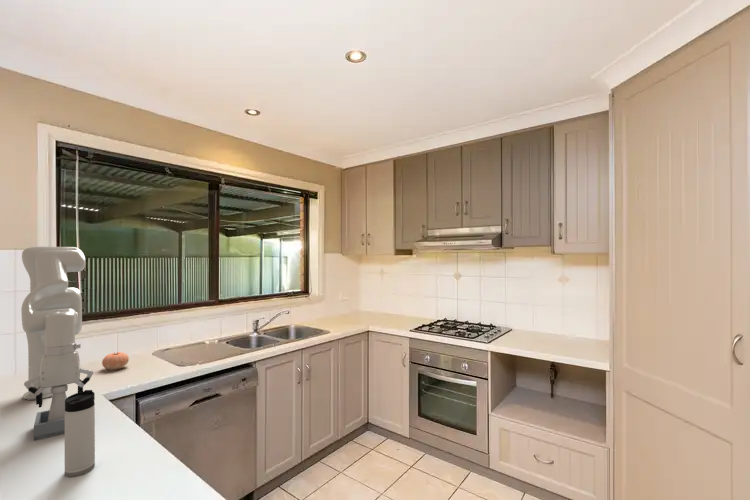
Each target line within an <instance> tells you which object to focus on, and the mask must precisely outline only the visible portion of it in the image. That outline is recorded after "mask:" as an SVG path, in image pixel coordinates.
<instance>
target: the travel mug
mask: <svg viewBox="0 0 750 500" xmlns="http://www.w3.org/2000/svg"><path fill="white" fill-rule="evenodd" d="M95 399H96V397H95V392H94V391H93V389H85V390H83V392H79V393H78V392H76V393H74V394H71V395H69V396H68V397H67V398H66V399H65V433H64V476H65V477H70V478H73V477H74V478H75V477H79V476H82V475H85V474H87V473H89V472H90V471H92V470H93V469H94V468H95V466H96V460H95V459H96V455H95V452H96V447H95V446H96V440H95V439H96V435H95V434H96V433H95V432H96V429H95V428H96V426H95V425H96V414H95V413H96V411H95V410H96V404H95V403H96V402H95Z"/></svg>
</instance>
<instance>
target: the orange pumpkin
mask: <svg viewBox="0 0 750 500" xmlns="http://www.w3.org/2000/svg"><path fill="white" fill-rule="evenodd" d="M129 360H130V358H129V355H128V354H127V353H125V352H121V351H120V352H119V351H117V352H112V353H108V354H107V355H106V356H104V357H103V358H102V360H101V364H102V367H103V368H104V369H106V370H108V371H115V370H120V369H122V368H124V367H126V365H128V363H129Z"/></svg>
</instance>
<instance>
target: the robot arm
mask: <svg viewBox="0 0 750 500" xmlns="http://www.w3.org/2000/svg"><path fill="white" fill-rule="evenodd" d="M21 252H22V253H21V261H22V264H23V266H24V268H25V270H26V272H27V274H28V276H29V282H30V283H29V284H30V285H29V286H30V287H29V289H30V291H29V293H28V294H27V295H26V296H25V298H24V300H23V301H22V305H21V308H20V310H21V325H22V330H23V331H24V332H25V334H26V335H25V336H26V340H27V349H28V350H27V351H28V353H27V354H28V356H27V357H28V360H27V361H28V362H27V363H28V366H27V367H28V370H27V371H28V372H27V373H28V375H27V376H28V377H27V378H28V379H27V380H26V381H24V384H23V386H24V387H25V388H26V389H27V391H26V392H25V393H24V394H23V395H22V399H24V400H26V399H27V400H29V401H31V400H32V401H33V400H35V405H36V406H37V405H38V408H42V407H43V399H46V398H52V397H53V394H51V387H55V386H61V385H66V384H67V385H71V384H76V385H77V393H79V392H84V386H85V385H86V384H87V383H88V382H90V380H91V378H92V376H93V375H94V370H91V369H87V368H82V367H81V359H80V354H79V352H78V350H77V349H81V343H76V336H77V335H79V334H80V333H81V332H82V328H83V309H82V308H83V299H82V298H83V297H82V293H81V291H80V289H79V288H76V287H69V279H68V273H72V272H73V273H77V272H79V273H80V272H82V271H84V269H85V267H86V257H85V254H84V252H83V251H82V250H81V249H79V247H76V246H32V247H31V246H30V247H27V248H25V249H23V250H22V251H21ZM81 374H85V375H86V377H84V378H83V380H82V379H80V377H81Z"/></svg>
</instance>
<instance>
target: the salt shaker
mask: <svg viewBox="0 0 750 500" xmlns="http://www.w3.org/2000/svg"><path fill="white" fill-rule="evenodd" d="M68 387H69V384H66V385H61V386H55V387H51V394H53V396H51V403H50V408H49V410H50V412H49V417H48V422H49V421H54V420H58V419H63V418H65V399H66V398H68V397H67V394H66V392H67V391H68Z"/></svg>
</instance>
